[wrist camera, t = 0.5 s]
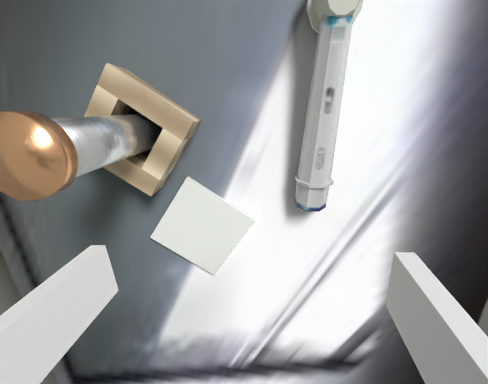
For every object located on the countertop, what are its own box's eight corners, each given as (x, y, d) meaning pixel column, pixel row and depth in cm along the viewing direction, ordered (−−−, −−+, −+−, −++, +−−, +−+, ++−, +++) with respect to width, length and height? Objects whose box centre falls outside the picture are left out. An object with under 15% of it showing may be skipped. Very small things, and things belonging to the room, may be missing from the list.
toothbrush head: (291, 211, 30) (322, -66, 19) (286, 188, 36) (307, -34, 25) (334, 213, 30) (392, -67, 19) (322, 189, 36) (360, -35, 25)
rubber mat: (188, 176, 34) (186, 177, 33) (255, 219, 35) (255, 221, 34) (151, 235, 37) (150, 237, 36) (214, 272, 38) (214, 275, 38)
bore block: (125, 68, 30) (106, 63, 26) (201, 120, 31) (193, 121, 27) (92, 143, 33) (70, 147, 29) (162, 186, 34) (150, 196, 30)
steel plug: (135, 100, 31) (-16, 91, 14) (173, 126, 32) (73, 146, 14) (118, 137, 32) (-38, 169, 15) (154, 160, 33) (44, 216, 16)
